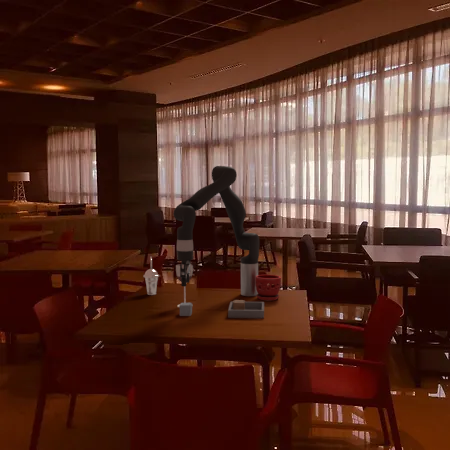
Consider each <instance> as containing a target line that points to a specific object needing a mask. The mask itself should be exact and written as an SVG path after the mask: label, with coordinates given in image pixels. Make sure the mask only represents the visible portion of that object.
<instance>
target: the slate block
mask: <svg viewBox="0 0 450 450" xmlns="http://www.w3.org/2000/svg"><path fill="white" fill-rule="evenodd" d="M192 305H193V302H186V303H184V302H180V307H179V316H180V317H191V316H192V314H193V306H192Z"/></svg>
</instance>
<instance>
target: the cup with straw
mask: <svg viewBox="0 0 450 450" xmlns="http://www.w3.org/2000/svg"><path fill="white" fill-rule="evenodd" d="M149 258H150V268H149V269H147V270H146V271H145V273H144V274H143V278H144V279H145V284H146V293H147V295H149V296H155V295H157V285H158V280H159V277H160V274H158V273H159V272H158V271H157V270H156V269H154V268H153V257H152V256H150V257H149Z"/></svg>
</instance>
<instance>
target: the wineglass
mask: <svg viewBox="0 0 450 450" xmlns="http://www.w3.org/2000/svg"><path fill="white" fill-rule="evenodd" d="M193 268H194V265H193V264H192V263H190V274H189V281H191V279H192V277H193ZM175 272H176V278H177V279H178V281H180V282H181V277H180V264H177V265H175ZM183 275H184V274H183ZM186 292H187V291H186V286H183V303H187V301H186V300H187V299H186V298H187V297H186V295H187V294H186ZM180 304H181V303H180ZM180 304H177V308H180ZM192 307H193V304H192Z"/></svg>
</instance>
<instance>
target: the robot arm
mask: <svg viewBox="0 0 450 450" xmlns="http://www.w3.org/2000/svg"><path fill="white" fill-rule="evenodd" d="M237 174H238V173H237V171H236V169H235V168H234V167H232V166H227V165H215V166H214V167H213V168H212V170H211V178H212V181H213V182H212V183H210V184H207V185H206V186H203V187H202V188H200V189H198V190H197V191H196V192H195V193H194V194H192V195H191V197H189V198H188V199H186V200H185V201H182V202H181V203H180V204H178V205H177V206H175V208H174V210H173V214H172V215H173V217H174V219H175V220H177V221H180V222H182V225H181V226H179V227H177V230H176V236H177V237H176V239H177V240H176V260H177V261H181V263H180V264H179V265H180V277H181V281H180V282H181V285H180V286H181V287H184V286H185V287H187V283H188V284H189V283H190V280H189V274H190V264H191V261H192V260H194V241H193V237H194V236H193V229H194V228H195V227H194V226H195V223H196V217H197V216H196V215H197V213H196V211H199V210H201V209H202V208H203V207H204V206H205V205H206V204H207V203H208V202H209V201H211V200H212V199H213V198H214V197H215V196H217V195H218V194H219V196H220V198H221V201H222V202H223V206H224V208H225V211H226V213H227V216H228V219H229V221H230V223H231V226H232V229H233V233H234V236H235V240H236V244H237V246H238V248H239V249H240V250H242V251H248V254H247V255H245V256H242V257H240V295H241V296H243V297H244V296H245V297H257V294H258V292H257V290H256V281H255V279H256V276H257V275H259V256H260V236H259V235H258V233H253V232H246V231H245V230H244V222H245V219H246V213H247V211H246V208H245V206H244V203H243V201H242V199H241V198H240V197H239V195H237V194H236V193H235V192H234V190H232V188H231V187H230V186H232V185H233V184H234V183H235V181H237ZM183 274H184V275H183Z"/></svg>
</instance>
